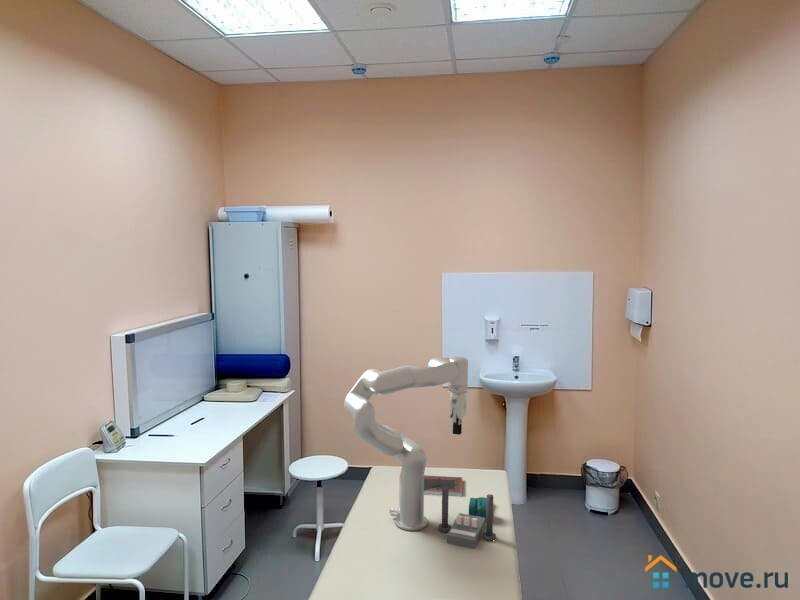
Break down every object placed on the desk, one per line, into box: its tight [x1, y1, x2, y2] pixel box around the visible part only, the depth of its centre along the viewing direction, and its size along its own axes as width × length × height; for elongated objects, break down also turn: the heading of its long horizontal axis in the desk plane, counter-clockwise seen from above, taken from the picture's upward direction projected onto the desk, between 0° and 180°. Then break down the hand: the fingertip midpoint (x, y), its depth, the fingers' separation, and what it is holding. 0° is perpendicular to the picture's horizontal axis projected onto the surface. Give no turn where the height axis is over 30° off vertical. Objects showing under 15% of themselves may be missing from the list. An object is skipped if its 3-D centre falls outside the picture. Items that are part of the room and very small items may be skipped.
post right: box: [481, 493, 497, 542], centre depth 205 cm, size 5×5×16 cm
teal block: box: [468, 496, 487, 524], centre depth 226 cm, size 18×7×8 cm, turn 163°
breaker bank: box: [455, 514, 478, 528], centre depth 209 cm, size 8×1×3 cm, turn 69°
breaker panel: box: [446, 512, 486, 549], centre depth 209 cm, size 10×18×3 cm, turn 159°
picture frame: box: [424, 474, 463, 497], centre depth 250 cm, size 16×2×22 cm
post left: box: [437, 487, 452, 534], centre depth 211 cm, size 5×5×16 cm
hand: (457, 433), depth 222 cm, fingers closed
